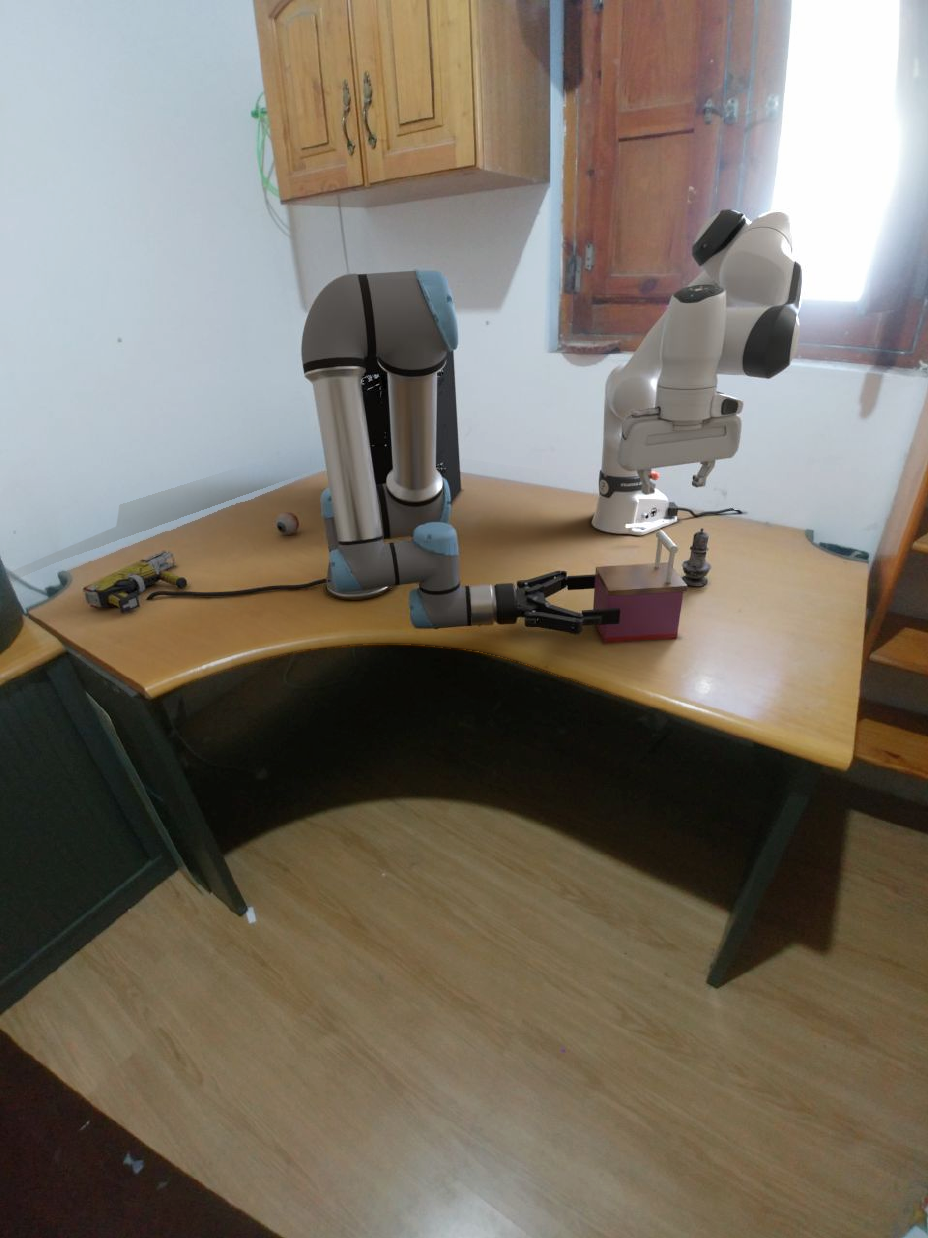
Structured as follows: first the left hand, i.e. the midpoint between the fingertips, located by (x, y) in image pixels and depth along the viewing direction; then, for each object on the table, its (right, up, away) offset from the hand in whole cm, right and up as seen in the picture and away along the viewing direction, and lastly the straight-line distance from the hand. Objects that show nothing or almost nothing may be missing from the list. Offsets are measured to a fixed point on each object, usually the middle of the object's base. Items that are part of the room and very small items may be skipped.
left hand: (610, 597), depth 110 cm
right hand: (+8, +18, -9) cm, 22 cm away
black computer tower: (-42, +28, +67) cm, 84 cm away
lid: (+5, +3, -1) cm, 6 cm away
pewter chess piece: (+23, +4, +19) cm, 30 cm away
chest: (+5, -5, +4) cm, 9 cm away
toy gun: (-99, +3, +29) cm, 103 cm away
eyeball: (-75, +19, +55) cm, 94 cm away
